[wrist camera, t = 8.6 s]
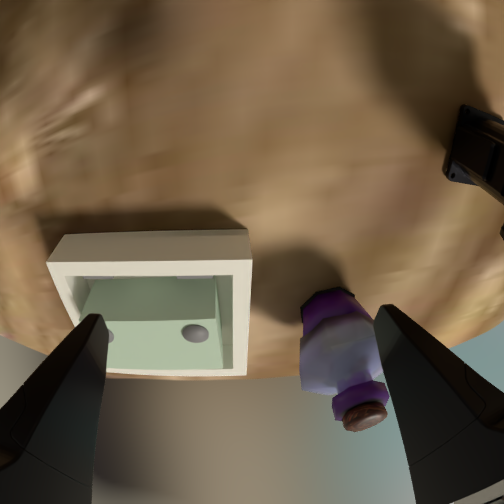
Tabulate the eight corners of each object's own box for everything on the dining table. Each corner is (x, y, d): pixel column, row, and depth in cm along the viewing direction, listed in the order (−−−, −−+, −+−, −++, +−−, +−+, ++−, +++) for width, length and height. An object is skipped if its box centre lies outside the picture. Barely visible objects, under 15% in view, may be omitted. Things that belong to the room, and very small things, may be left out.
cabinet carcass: (248, 229, 22) (252, 259, 19) (243, 345, 29) (246, 375, 27) (64, 234, 20) (45, 262, 17) (106, 343, 28) (99, 371, 25)
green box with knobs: (215, 274, 23) (215, 320, 19) (221, 326, 26) (223, 369, 23) (95, 280, 22) (77, 322, 18) (116, 328, 26) (106, 369, 22)
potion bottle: (272, 336, 29) (292, 451, 19) (299, 268, 24) (340, 403, 15) (348, 338, 31) (382, 437, 21) (385, 277, 26) (443, 386, 16)
